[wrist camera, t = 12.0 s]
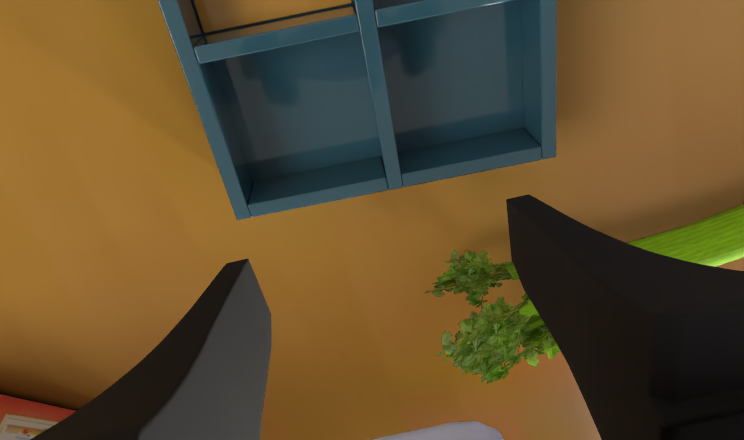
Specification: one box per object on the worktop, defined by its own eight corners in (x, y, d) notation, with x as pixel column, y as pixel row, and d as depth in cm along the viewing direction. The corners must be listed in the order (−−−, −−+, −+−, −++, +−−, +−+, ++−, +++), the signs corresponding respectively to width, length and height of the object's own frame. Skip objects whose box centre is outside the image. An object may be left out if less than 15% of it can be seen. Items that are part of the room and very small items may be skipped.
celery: (952, 156, 29) (430, 351, 29) (965, 26, 26) (389, 244, 27) (1111, 192, 23) (461, 433, 24) (1148, 32, 20) (413, 307, 21)
